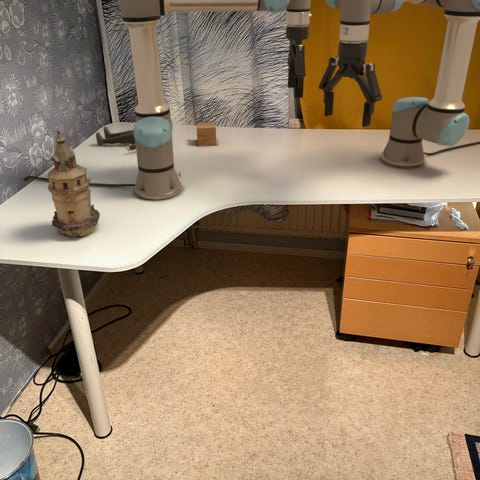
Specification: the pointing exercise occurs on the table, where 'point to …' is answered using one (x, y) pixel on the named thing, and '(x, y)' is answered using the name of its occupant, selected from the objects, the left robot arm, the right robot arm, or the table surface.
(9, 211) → the table surface
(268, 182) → the table surface
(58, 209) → the miniature building
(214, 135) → the block
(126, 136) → the toy
